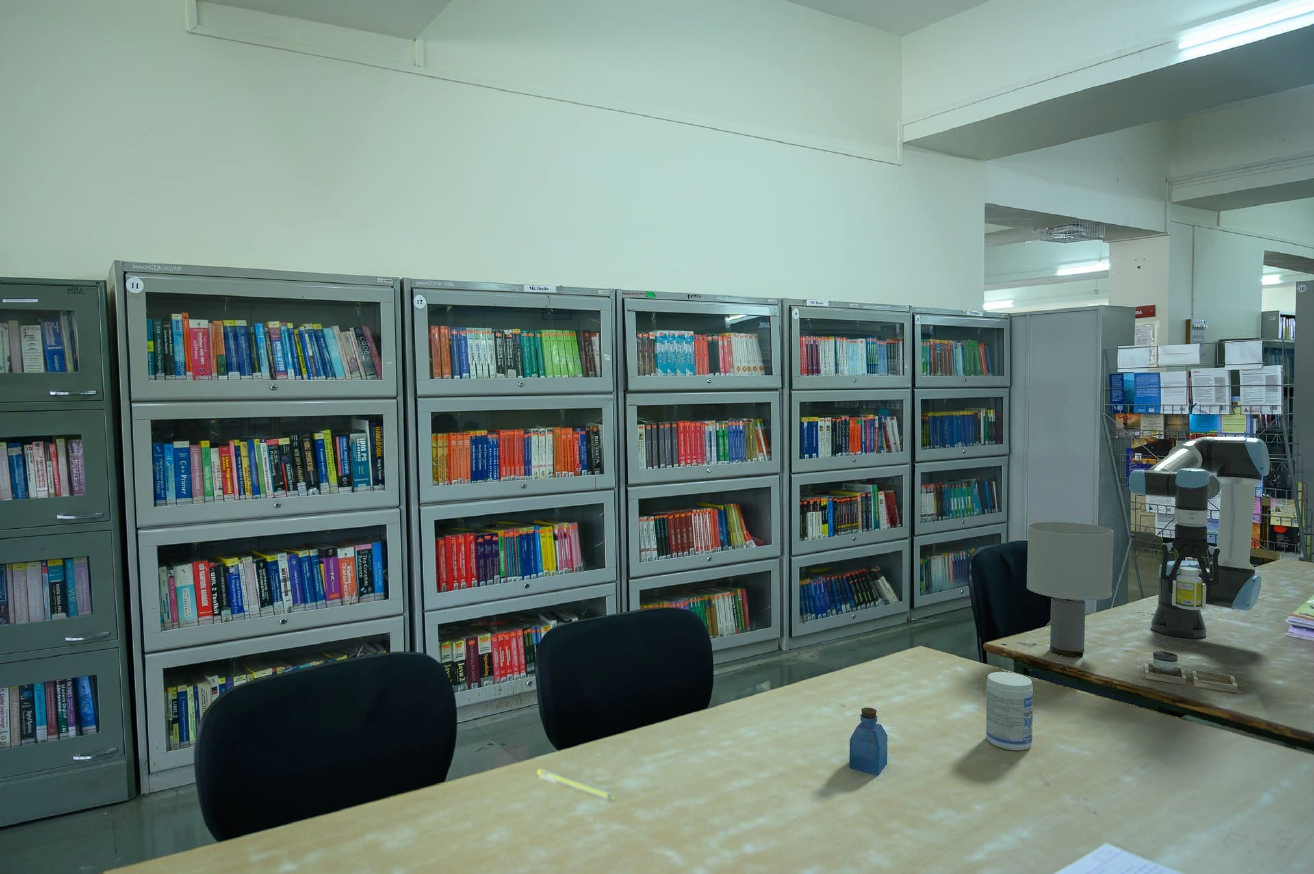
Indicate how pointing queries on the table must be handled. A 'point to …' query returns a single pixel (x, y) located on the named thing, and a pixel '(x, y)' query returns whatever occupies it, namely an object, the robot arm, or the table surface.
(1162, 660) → the small lidded jar
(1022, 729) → the supplement tub
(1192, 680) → the socket board
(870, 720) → the perfume bottle
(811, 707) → the table surface
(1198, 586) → the pill bottle
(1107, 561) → the lamp
